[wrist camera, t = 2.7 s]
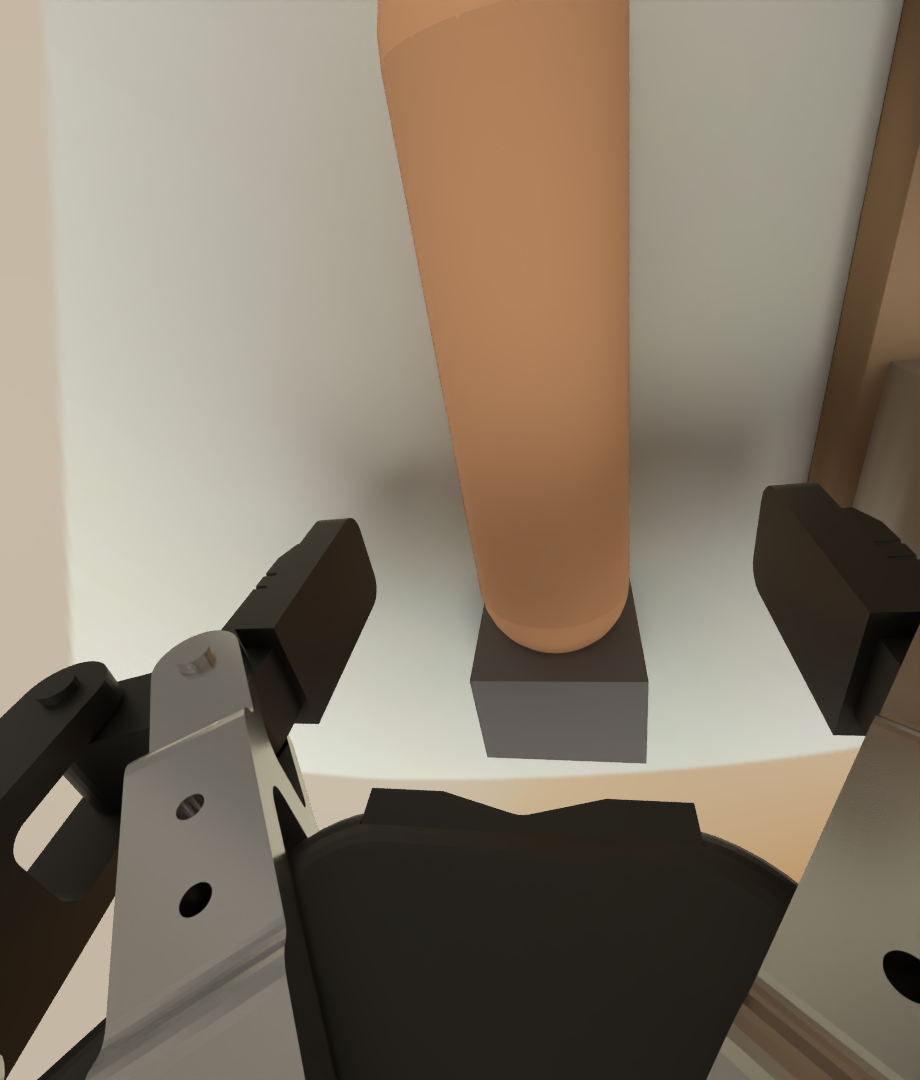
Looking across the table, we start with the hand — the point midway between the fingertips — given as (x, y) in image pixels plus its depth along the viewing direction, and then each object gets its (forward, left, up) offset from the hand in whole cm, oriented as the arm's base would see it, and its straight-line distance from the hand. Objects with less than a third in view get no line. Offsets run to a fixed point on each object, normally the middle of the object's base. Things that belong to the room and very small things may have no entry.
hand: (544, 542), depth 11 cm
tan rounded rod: (-1, 0, -5) cm, 5 cm away
